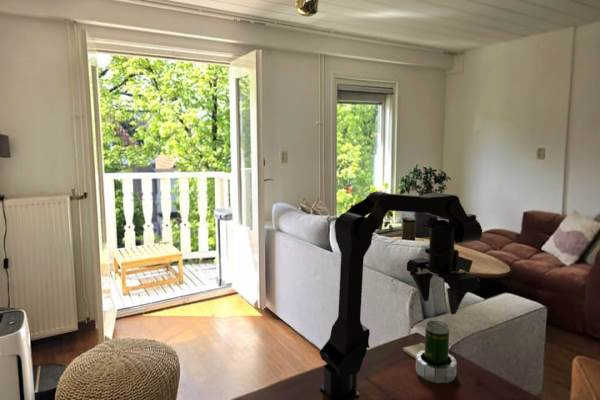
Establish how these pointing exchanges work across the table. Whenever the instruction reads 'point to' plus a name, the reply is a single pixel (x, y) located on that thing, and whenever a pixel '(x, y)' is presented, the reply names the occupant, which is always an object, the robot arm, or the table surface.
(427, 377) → the ring holder
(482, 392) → the table surface
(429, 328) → the beer can
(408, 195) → the robot arm
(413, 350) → the cork coaster
